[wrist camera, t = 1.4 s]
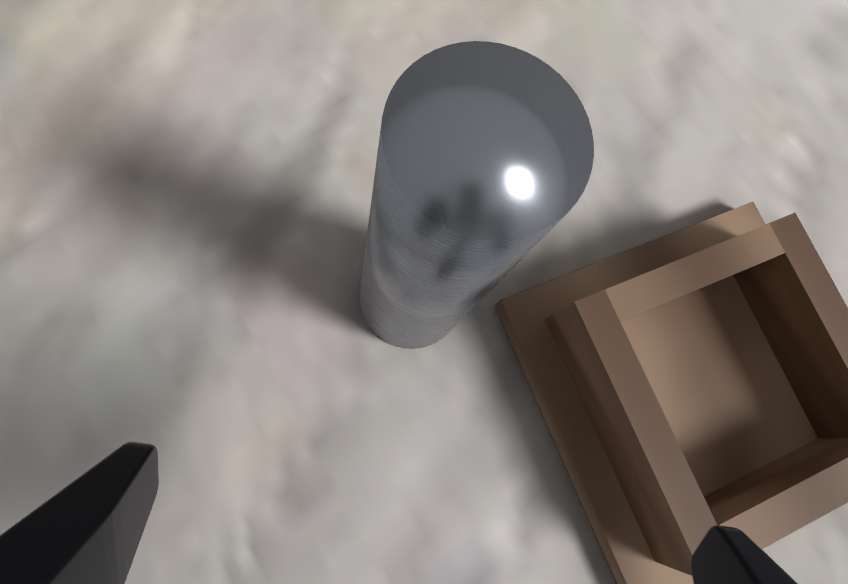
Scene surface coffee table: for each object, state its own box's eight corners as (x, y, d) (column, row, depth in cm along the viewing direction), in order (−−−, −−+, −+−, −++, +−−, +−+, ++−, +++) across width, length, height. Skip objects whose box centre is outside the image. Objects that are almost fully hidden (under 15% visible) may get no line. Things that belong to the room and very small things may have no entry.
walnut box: (627, 607, 22) (688, 642, 18) (494, 305, 24) (524, 279, 20) (877, 472, 24) (978, 478, 21) (738, 210, 27) (805, 170, 23)
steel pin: (382, 363, 23) (432, 271, 10) (344, 268, 24) (348, 73, 11) (477, 326, 24) (628, 198, 11) (437, 235, 24) (539, 19, 12)
